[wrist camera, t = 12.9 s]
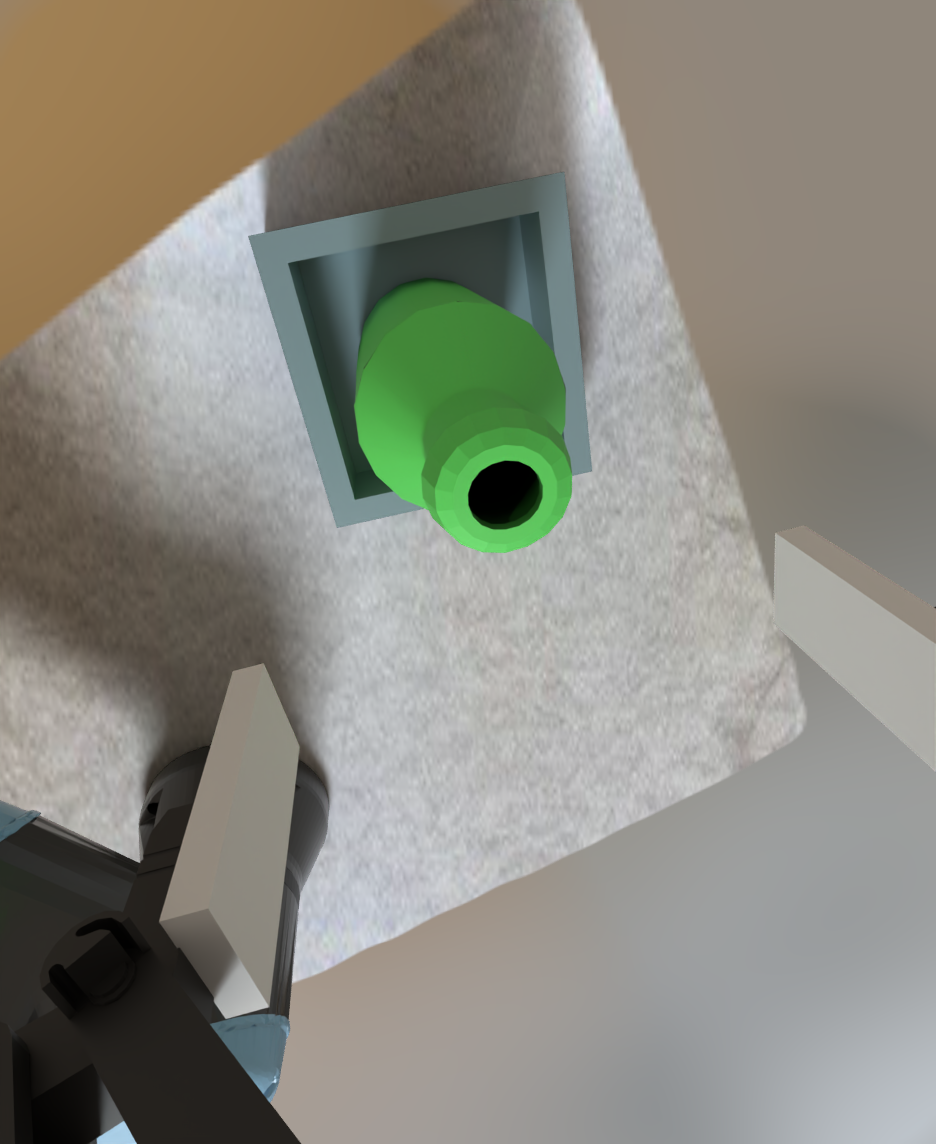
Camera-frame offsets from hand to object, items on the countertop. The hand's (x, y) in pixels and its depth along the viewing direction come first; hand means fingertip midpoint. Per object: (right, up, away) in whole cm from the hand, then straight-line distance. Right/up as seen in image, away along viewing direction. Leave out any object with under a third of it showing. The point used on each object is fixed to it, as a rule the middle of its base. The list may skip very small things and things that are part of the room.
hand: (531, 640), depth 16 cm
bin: (-4, +16, +25) cm, 30 cm away
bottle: (-4, +15, +24) cm, 29 cm away
